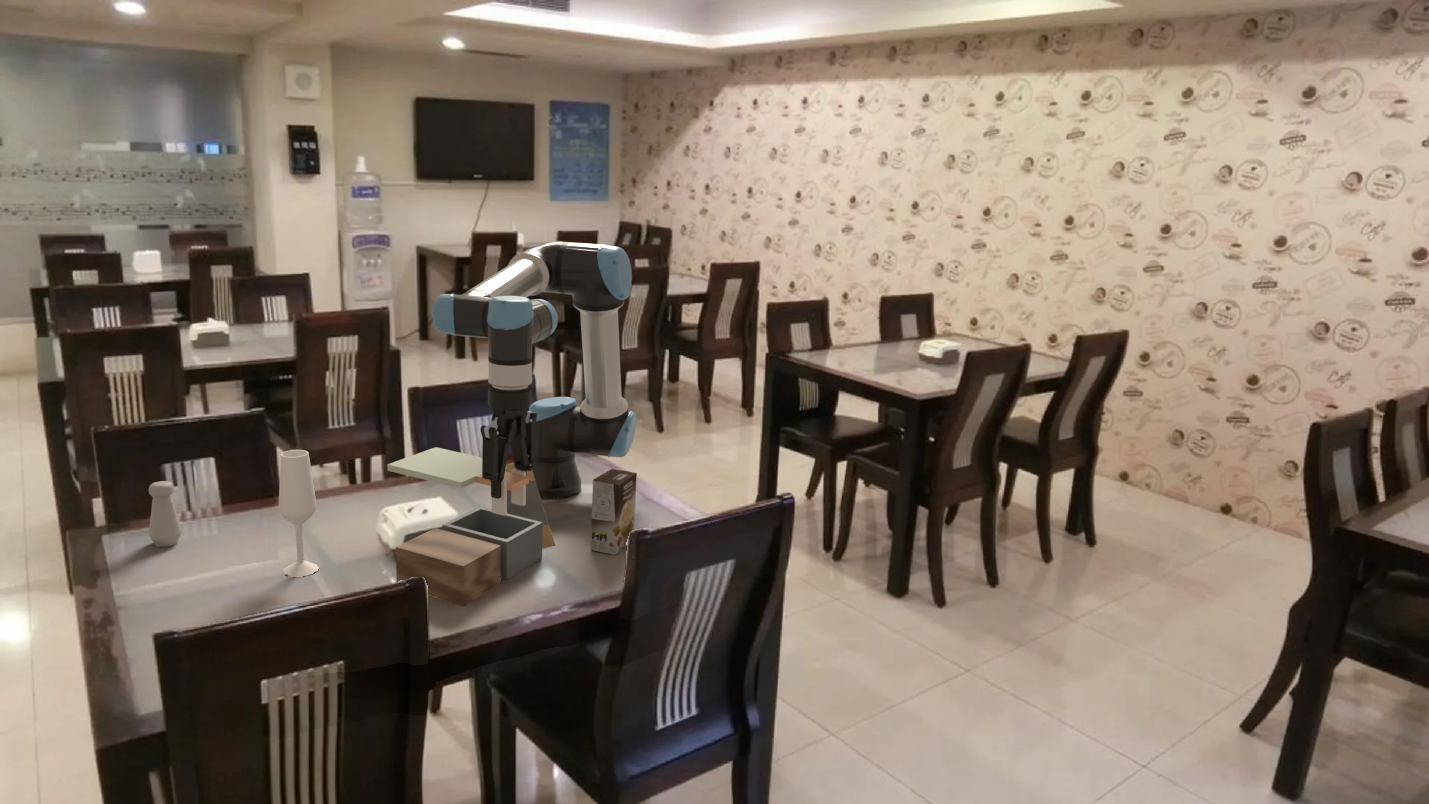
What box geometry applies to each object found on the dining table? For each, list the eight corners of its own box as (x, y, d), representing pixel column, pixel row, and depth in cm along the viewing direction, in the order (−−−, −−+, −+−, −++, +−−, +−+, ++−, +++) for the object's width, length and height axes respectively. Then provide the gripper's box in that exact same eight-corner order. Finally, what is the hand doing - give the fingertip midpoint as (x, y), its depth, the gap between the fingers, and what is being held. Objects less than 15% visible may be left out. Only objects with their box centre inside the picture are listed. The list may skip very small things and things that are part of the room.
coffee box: (616, 556, 194) (619, 485, 190) (589, 550, 196) (591, 479, 192) (634, 540, 203) (637, 472, 199) (608, 535, 205) (610, 467, 201)
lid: (435, 452, 180) (435, 447, 180) (541, 477, 170) (541, 471, 170) (387, 470, 168) (387, 464, 168) (498, 497, 159) (498, 491, 158)
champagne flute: (278, 567, 179) (271, 451, 173) (314, 560, 183) (308, 446, 177) (287, 580, 174) (279, 461, 168) (324, 572, 178) (318, 456, 172)
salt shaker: (189, 541, 188) (184, 482, 185) (162, 551, 183) (156, 490, 180) (170, 535, 190) (164, 476, 187) (143, 544, 185) (137, 484, 182)
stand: (435, 564, 185) (435, 528, 183) (500, 583, 179) (500, 545, 177) (396, 585, 175) (395, 546, 173) (463, 606, 169) (463, 566, 167)
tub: (480, 541, 197) (480, 506, 195) (542, 558, 191) (542, 522, 189) (442, 561, 187) (442, 524, 185) (506, 579, 180) (507, 542, 178)
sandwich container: (519, 553, 193) (520, 486, 189) (493, 528, 205) (493, 465, 201) (557, 546, 198) (558, 481, 194) (529, 522, 210) (530, 460, 206)
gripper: (523, 372, 170) (521, 490, 176) (459, 391, 154) (459, 520, 160) (556, 378, 167) (554, 498, 173) (495, 398, 151) (494, 529, 157)
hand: (509, 508), depth 167 cm, fingers closed on lid, 5 cm apart
